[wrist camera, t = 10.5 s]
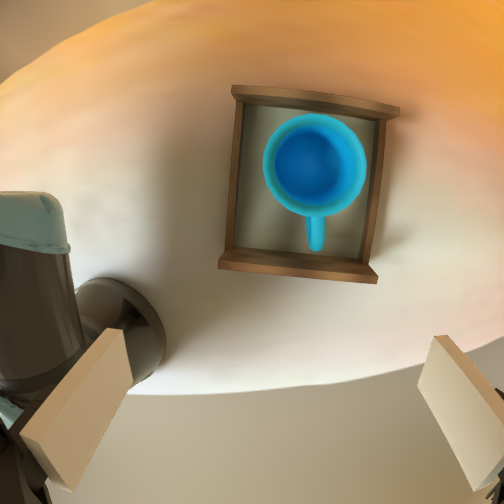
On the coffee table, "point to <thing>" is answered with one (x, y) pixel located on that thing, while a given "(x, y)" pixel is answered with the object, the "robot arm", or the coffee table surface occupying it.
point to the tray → (279, 217)
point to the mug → (314, 169)
